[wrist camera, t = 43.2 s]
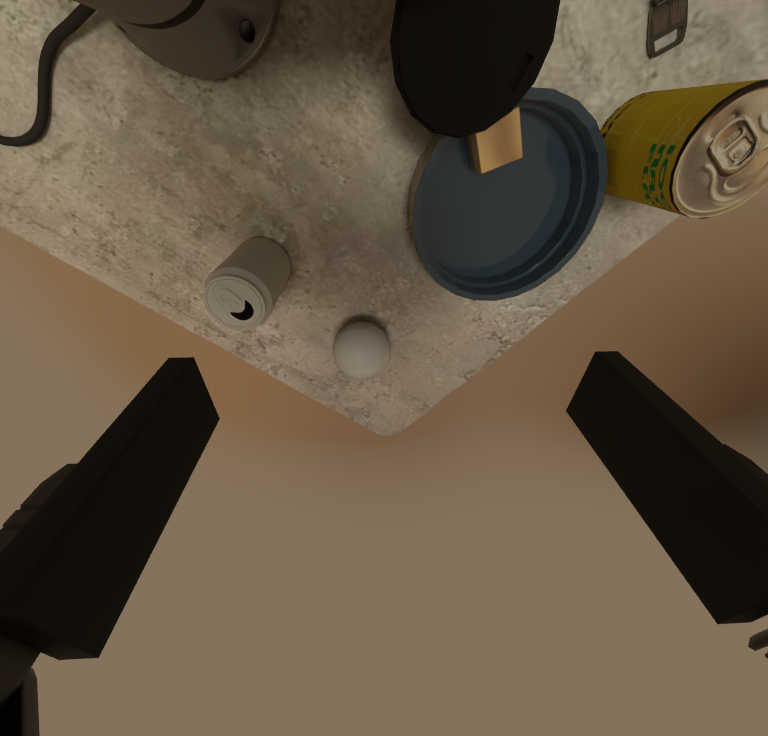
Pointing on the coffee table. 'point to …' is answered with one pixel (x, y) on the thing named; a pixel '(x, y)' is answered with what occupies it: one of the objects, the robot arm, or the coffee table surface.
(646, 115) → the beverage can
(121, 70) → the coffee table surface
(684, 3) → the strap clip
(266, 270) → the beverage can
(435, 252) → the bowl
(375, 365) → the bath bomb
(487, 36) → the coffee cup
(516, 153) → the block
